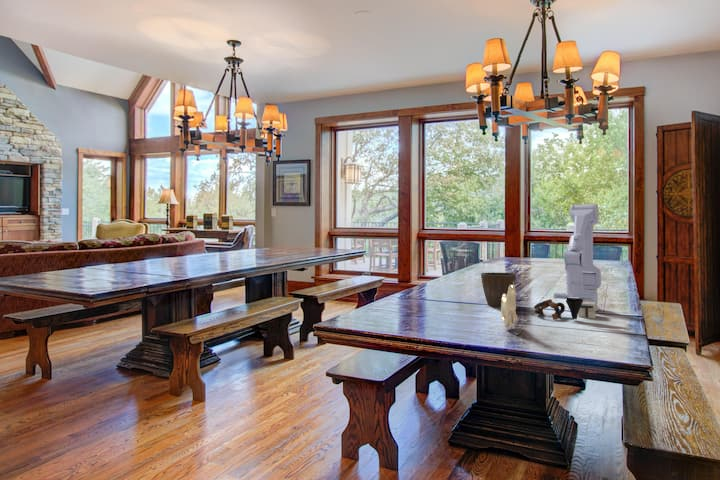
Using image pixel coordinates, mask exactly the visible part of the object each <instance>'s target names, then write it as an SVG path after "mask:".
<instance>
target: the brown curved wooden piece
mask: <svg viewBox="0 0 720 480" xmlns="http://www.w3.org/2000/svg"><path fill="white" fill-rule="evenodd" d="M533 307H534V313H535V314H537V315H539V316H543V315H545V312H544V311H543V310H544V309H547V308H552V309H553V310H554V311H555V312H554V313H552V314H551V316H552V320H553V321H555V320H558V319H560V320H561V319H562V314H564V312H565V310H566V306H565V304H564V303H563V302H557V303H556V302H553V301H552V299H547V300H544V301H541V302H539V303H537V304H535V305H534V306H533Z"/></svg>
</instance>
